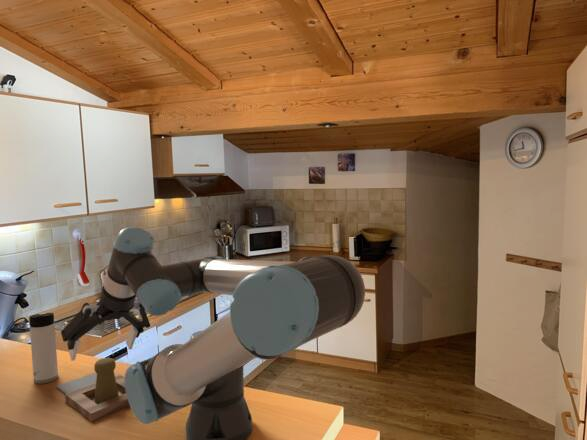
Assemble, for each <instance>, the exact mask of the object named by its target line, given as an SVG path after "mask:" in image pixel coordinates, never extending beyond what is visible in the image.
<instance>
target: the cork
mask: <svg viewBox="0 0 587 440" xmlns="http://www.w3.org/2000/svg"><path fill="white" fill-rule="evenodd" d="M116 365H117V364H116V360H115V359H114V358H111V357H103V358H100V359H97V360H96V361H95V363H94V366H93V367H94V368H93V369H94V373H95V372H96V373H97V378H96V390H95V396H94V401H93V402H94V403H96V404H97V405H98V404H100V403H103V402H105V401H108V400H110V399H113V398H115V397H118V396H120V395H119V390H117V385H116V380H115V376H116V375H115V370H116Z"/></svg>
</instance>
